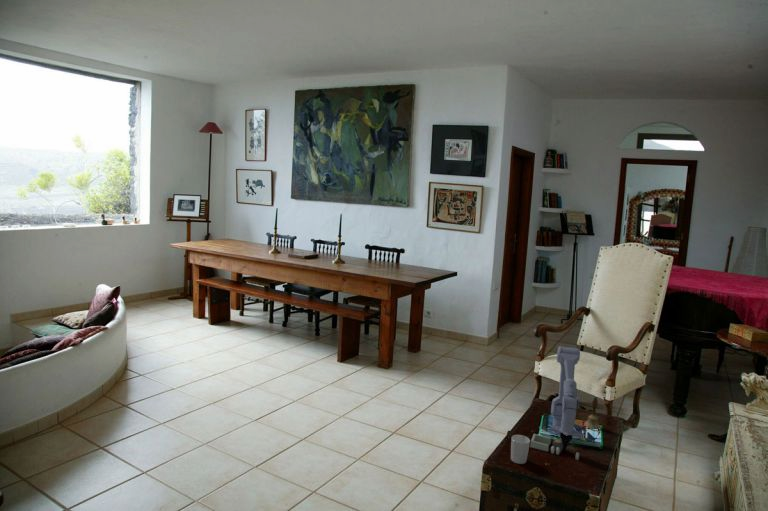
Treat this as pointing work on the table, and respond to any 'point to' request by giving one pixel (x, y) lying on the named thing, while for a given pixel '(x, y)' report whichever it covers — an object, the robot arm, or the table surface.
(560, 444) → the connector block
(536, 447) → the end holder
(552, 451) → the clip
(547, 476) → the table surface
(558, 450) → the clip
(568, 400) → the robot arm
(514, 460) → the white cup
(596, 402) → the hand bell
